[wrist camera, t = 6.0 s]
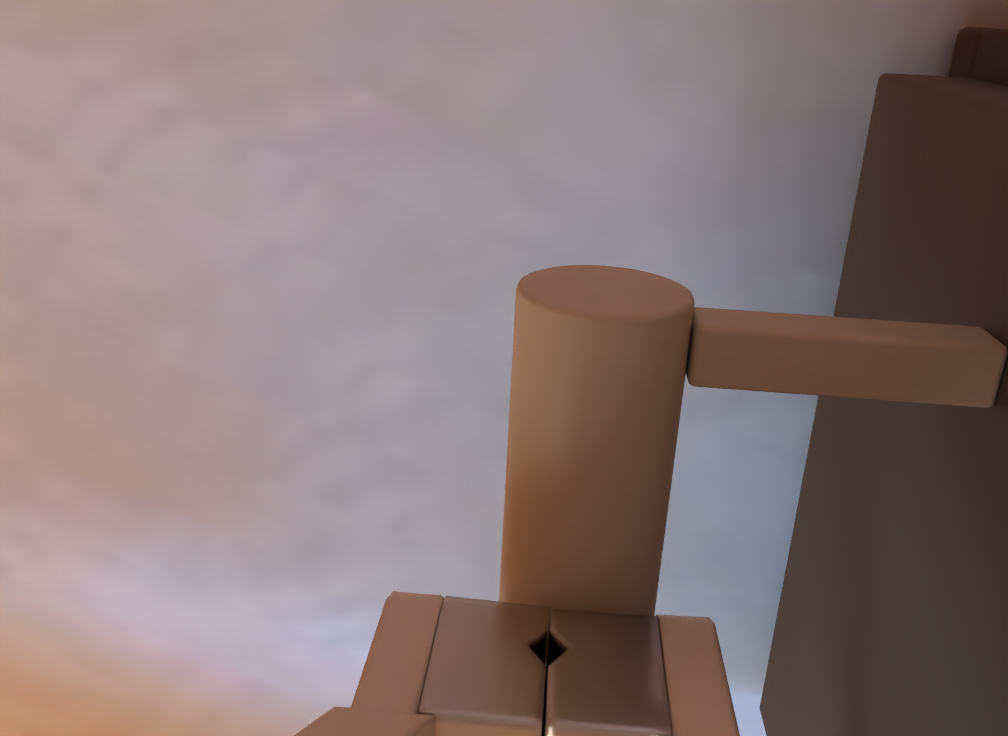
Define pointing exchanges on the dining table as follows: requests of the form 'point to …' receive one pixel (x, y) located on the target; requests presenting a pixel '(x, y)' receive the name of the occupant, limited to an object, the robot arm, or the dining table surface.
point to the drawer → (834, 440)
